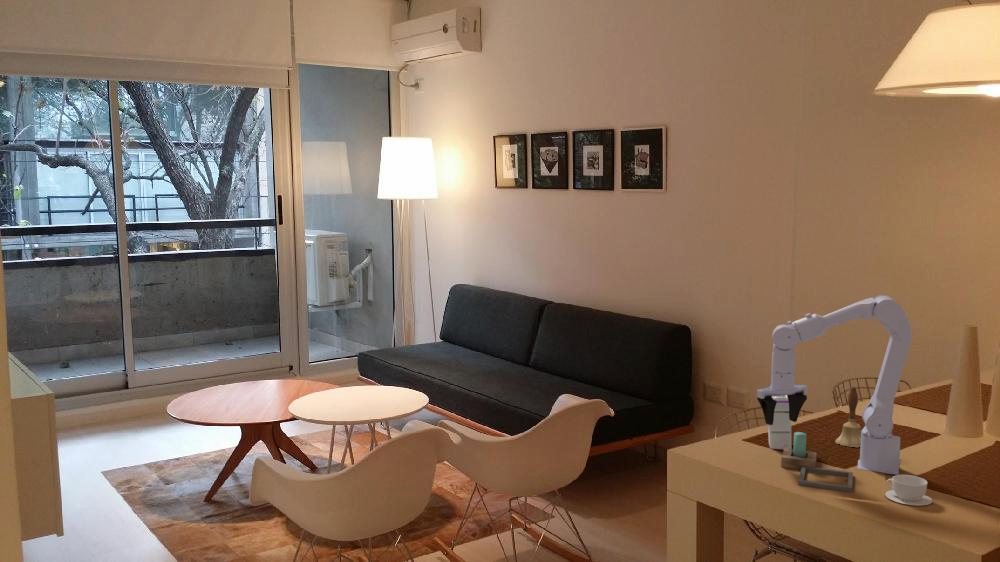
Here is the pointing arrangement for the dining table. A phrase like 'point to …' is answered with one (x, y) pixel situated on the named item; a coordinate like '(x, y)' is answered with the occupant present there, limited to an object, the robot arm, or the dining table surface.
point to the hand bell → (851, 424)
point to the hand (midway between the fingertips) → (781, 422)
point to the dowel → (799, 444)
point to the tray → (826, 485)
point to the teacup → (908, 490)
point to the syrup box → (780, 425)
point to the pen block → (797, 459)
